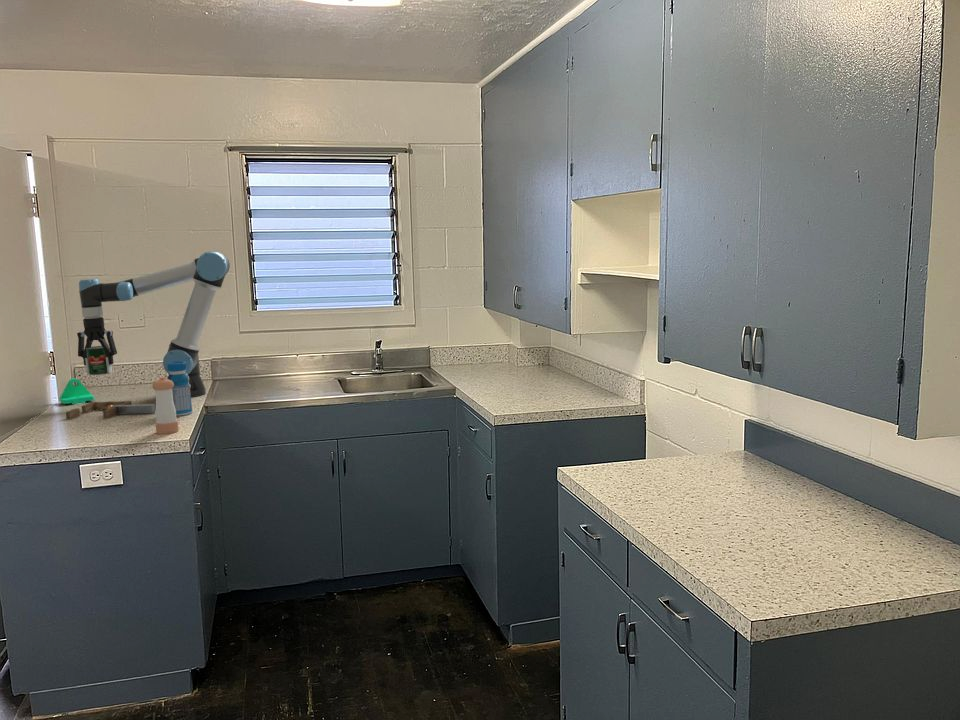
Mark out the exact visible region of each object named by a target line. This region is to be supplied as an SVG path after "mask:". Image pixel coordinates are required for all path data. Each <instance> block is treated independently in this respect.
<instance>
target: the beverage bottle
mask: <svg viewBox="0 0 960 720" xmlns="http://www.w3.org/2000/svg"><path fill="white" fill-rule="evenodd" d="M167 367H168V372H170V374H168V376H167V377H166V379H169V380H172V382H173V383H174V387H173V388H172V394H173V402H174V406H175V409H176V417H177V416H178V417H180V416H187V415H190V414H192V413H193V407H192V397H191V393H190V388H191V386H190V383H189V380H190V379H189V376H188V375H187V373H186V372H185V371H186V369H187V368H186V362H182V361H180V362H170V363H168V365H167Z"/></svg>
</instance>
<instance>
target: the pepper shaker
mask: <svg viewBox="0 0 960 720" xmlns="http://www.w3.org/2000/svg"><path fill="white" fill-rule="evenodd" d="M151 387H152V389H153V390H154V393H155V412H154V413H155V414H154V415H155V420H156V422H155V433H156V434H158V435H168V434H174V433H177V432H179V430H180V428H179V421H178V420H177V416H176V409H175V406H174V402H173V394H172V388H173V387H174V383H173V382H172V380H169V379H167V378H165V377H160V379H157V380H155V381H153V383H152V385H151Z"/></svg>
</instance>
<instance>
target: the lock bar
mask: <svg viewBox="0 0 960 720" xmlns="http://www.w3.org/2000/svg"><path fill="white" fill-rule="evenodd" d="M110 408H116V415H127V414H129V415H130V414H131V415H132V414H133V415H134V414H136V415H137V414H154V413H155V412H156V403H155V404H154V403H151V404H148V403H147V404H132V405H108V407H107V409H110Z"/></svg>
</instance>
